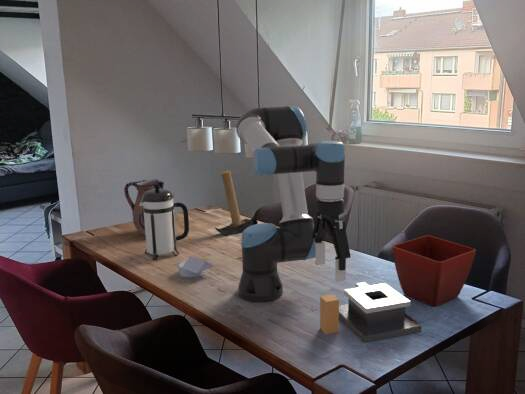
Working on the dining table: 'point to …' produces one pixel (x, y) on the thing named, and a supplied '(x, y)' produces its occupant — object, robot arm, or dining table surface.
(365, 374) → the dining table surface
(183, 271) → the lavender faceted polyhedron
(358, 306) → the tabbed square frame
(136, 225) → the ceramic pitcher
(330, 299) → the orange rectangular block
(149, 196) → the coffee press
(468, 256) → the plant pot
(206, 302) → the dining table surface
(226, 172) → the hammer
